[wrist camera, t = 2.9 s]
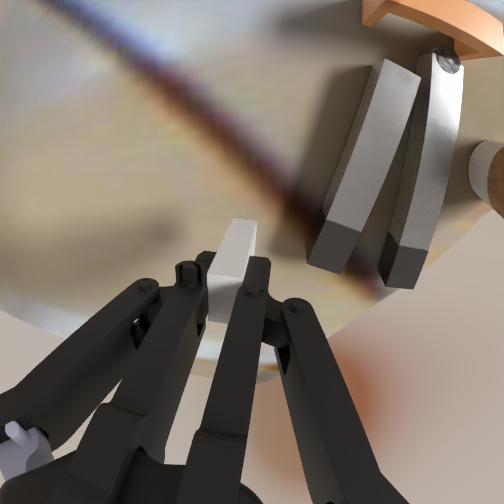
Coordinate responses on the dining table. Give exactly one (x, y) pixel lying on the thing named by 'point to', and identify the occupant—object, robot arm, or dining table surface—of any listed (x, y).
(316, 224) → the tong arm
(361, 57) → the dining table surface
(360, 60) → the dining table surface
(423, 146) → the tongs fixed
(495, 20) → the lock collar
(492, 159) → the coffee cup
